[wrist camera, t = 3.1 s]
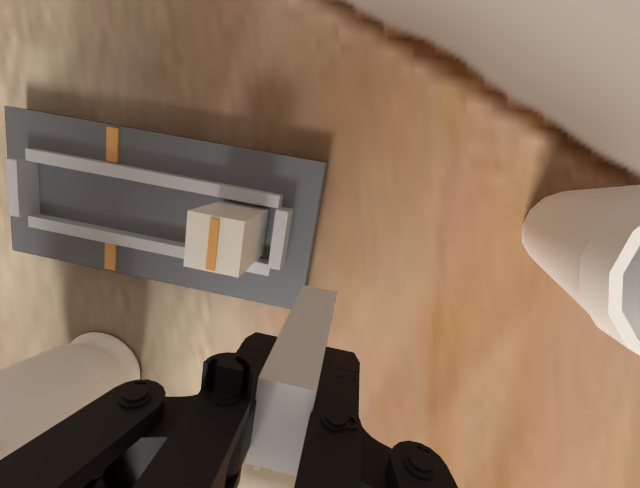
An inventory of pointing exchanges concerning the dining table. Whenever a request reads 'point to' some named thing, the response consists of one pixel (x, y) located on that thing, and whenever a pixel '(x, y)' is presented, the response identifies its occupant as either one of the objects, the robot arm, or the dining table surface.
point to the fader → (224, 237)
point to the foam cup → (593, 253)
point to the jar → (59, 385)
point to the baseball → (264, 477)
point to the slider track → (155, 202)
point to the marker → (113, 156)
